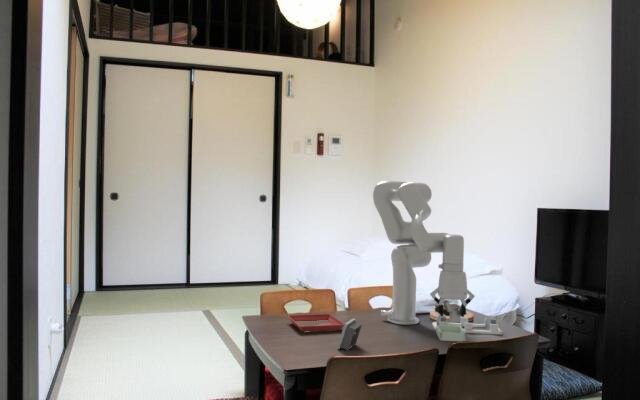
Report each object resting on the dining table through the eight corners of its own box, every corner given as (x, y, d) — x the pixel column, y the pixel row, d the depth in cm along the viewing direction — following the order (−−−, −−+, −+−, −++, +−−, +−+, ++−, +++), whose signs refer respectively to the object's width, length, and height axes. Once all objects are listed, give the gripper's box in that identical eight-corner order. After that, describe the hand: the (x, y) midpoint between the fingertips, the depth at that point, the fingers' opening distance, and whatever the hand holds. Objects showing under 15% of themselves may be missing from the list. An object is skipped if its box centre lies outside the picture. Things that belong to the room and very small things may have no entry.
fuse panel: (435, 331, 207) (436, 321, 207) (432, 324, 218) (432, 315, 218) (502, 334, 204) (502, 325, 204) (495, 327, 216) (495, 318, 216)
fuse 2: (490, 332, 207) (490, 319, 207) (486, 328, 214) (486, 315, 214) (495, 332, 207) (495, 319, 207) (491, 328, 214) (491, 316, 213)
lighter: (458, 320, 201) (458, 299, 201) (460, 321, 199) (461, 300, 199) (442, 321, 198) (442, 300, 198) (445, 323, 196) (445, 301, 196)
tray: (440, 340, 194) (440, 332, 194) (436, 332, 205) (436, 324, 205) (466, 341, 193) (466, 333, 193) (460, 333, 204) (460, 326, 204)
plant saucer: (329, 321, 220) (329, 313, 220) (345, 332, 203) (345, 323, 203) (287, 323, 214) (287, 315, 214) (299, 335, 197) (299, 326, 197)
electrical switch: (346, 342, 187) (349, 316, 187) (360, 346, 186) (363, 320, 185) (336, 349, 179) (339, 322, 178) (351, 353, 177) (354, 326, 176)
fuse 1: (440, 330, 209) (440, 317, 209) (438, 325, 215) (438, 313, 215) (445, 330, 209) (445, 317, 209) (443, 326, 215) (443, 313, 215)
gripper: (430, 268, 196) (429, 317, 196) (478, 270, 194) (477, 319, 194) (427, 266, 203) (426, 312, 203) (474, 267, 202) (473, 314, 202)
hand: (451, 315), depth 199 cm, fingers closed on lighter, 7 cm apart
